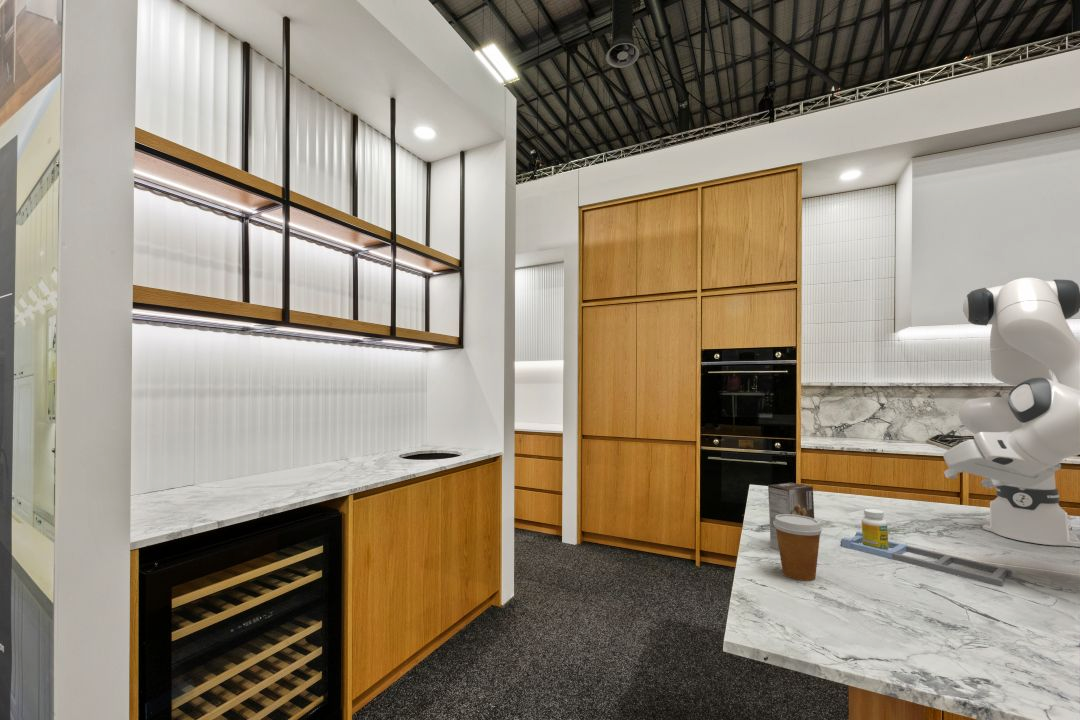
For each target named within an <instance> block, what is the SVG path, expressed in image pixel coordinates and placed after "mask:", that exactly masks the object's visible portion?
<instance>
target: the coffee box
mask: <svg viewBox="0 0 1080 720" xmlns="http://www.w3.org/2000/svg"><path fill="white" fill-rule="evenodd" d="M767 488H768V511H769V512H768V514H769V536H770V537H769V541H770V548H771V549H774V550H776V551H779V545H778V539H777V533H776V528H775V525H774V524H773V521H775V516H777V515H781V514H792V515H801V516H806V517H810V518H813V519H815V504H814V502H815V501H814V486H811V485H806V484H801V483H795V482H783V483H777V484H776V483H775V484H768V485H767Z"/></svg>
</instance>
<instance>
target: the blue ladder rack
mask: <svg viewBox="0 0 1080 720" xmlns="http://www.w3.org/2000/svg"><path fill="white" fill-rule="evenodd" d="M839 542H840V546H841V547H842V548H846V549H851V548H852V550H856V551H859V552H864V553H867V554H871V555H875V556H878V557H883V558H887V559H890V558H891V559H890V560H894V561H900V562H903V563H907V564H912V565H915V566H920V567H923V568H926V569H930V570H931V569H932V570H934V571H939V572H942V573H946V574H951V575H954V574H955V575H954V576H958V575H959V577H961V578H962V577H963V578H965V579H970V580H973V579H974V580H973V581H978V582H981V581H982V583H985V582H986V584H989V583H990V585H993V584H994V586H997V585H998V587H1003V586H1004V579H1005V577H1006V576H1009V577H1013V576H1014V573H1013V572H1014V571H1013V569H1011V568H1006V567H1003V566H998V565H994V564H990V563H985V562H982V561H981V562H980V561H977V560H971V559H968V558H963V557H958V556H956V555H952V554H951V555H950V554H947V553H942V552H936V551H934V550H928V549H924V548H921V547H917V546H916V547H915V546H911V545H908V544H904V543H901V542H897V541H893V540H892V541H891V540H888V548H890V549H888V551H887V550H883V549H879V548H874V547H870V546H866V545H863V537H862V530H861V531H860V530H859V531H856V532H855V534H854V536H853V537H851V538H850V537H845V536H843V537H841V540H840V541H839ZM861 542H862V543H861ZM859 543H860V544H859ZM906 552H908V553H912V554H917V555H920V556H925V557H928V558H932V557H933V558H932V559H936V558H937V560H935V561H934V562H933V561H930V560H924V559H921V558H917V557H914V556H909V555H904V554H905V553H906ZM953 562H954V564H957V563H959V564H958V565H962V564H963V566H966V565H967V567H970V566H971V568H974V567H975V569H978V568H980V569H979V570H983V569H984V571H987V570H988V571H987V572H991V571H992V572H991V573H992V574H990V575H986V574H982V573H979V572H978V573H977V572H974V571H970V570H965V569H962V568H958V567H954V566H951V565H950V564H951V563H953Z"/></svg>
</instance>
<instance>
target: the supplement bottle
mask: <svg viewBox="0 0 1080 720" xmlns="http://www.w3.org/2000/svg"><path fill="white" fill-rule="evenodd" d="M863 511H864V512H863V513H864V517H862V518H861V532H862V537H863V542H862V545H866V546H870V547H874V548H879V549H883V550H887V551H888V550H889V547H888V541H889V535H888V534H889V532H888V530H889V529H888V522H887V521H886V520H885V519H883V518H884V511H883V510H879V509H874V508H865V509H864V510H863Z"/></svg>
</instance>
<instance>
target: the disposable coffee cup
mask: <svg viewBox="0 0 1080 720" xmlns="http://www.w3.org/2000/svg"><path fill="white" fill-rule="evenodd" d="M773 524H774V525H775V528H776V533H777V539H778V545H779V550H778V551H779V557H780V558H779V559H780V564H781V569H782V570H781V571H782V573H783V574H784V575H785V576H786V577H788V578H790V579H793V580H799V581H806V582H807V581H808V582H809V581H815V579H816V576H817V565H818V558H819V548H820V538H821V533H822V531H823V527H822V526H821V523H820V521H819V520H817V519H815V518H814V519H813V518H810V517H806V516H801V515H792V514H781V515H777V516H775V521H773Z"/></svg>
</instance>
